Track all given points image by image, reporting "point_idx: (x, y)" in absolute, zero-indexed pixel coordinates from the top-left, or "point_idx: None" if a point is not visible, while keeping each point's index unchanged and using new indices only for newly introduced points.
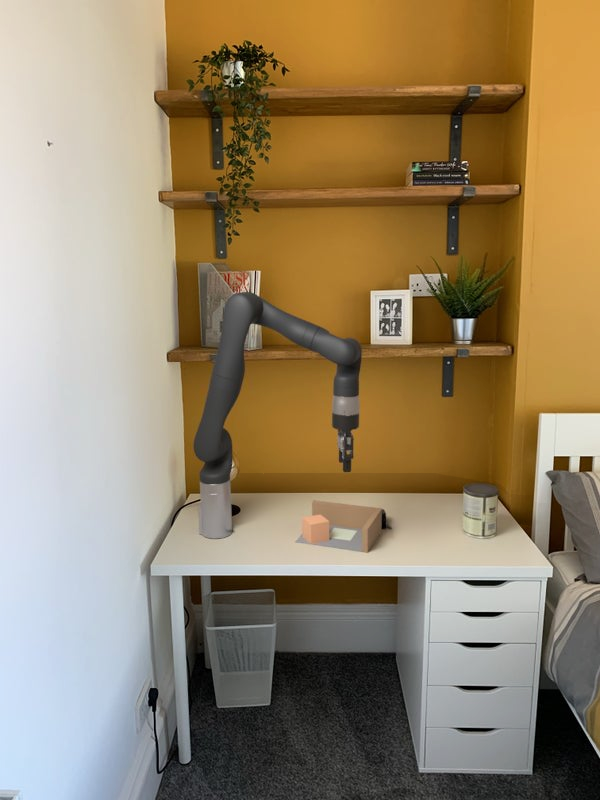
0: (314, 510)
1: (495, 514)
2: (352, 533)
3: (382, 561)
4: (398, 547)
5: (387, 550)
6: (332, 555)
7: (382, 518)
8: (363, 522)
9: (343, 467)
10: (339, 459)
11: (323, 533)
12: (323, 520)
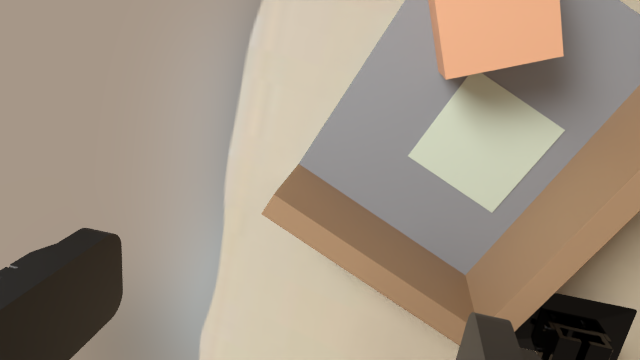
0: None
1: None
2: (472, 186)
3: (244, 208)
4: (333, 295)
5: (319, 254)
6: (326, 52)
7: (542, 343)
8: (503, 254)
9: (50, 251)
10: (477, 339)
11: (436, 43)
12: (465, 51)
